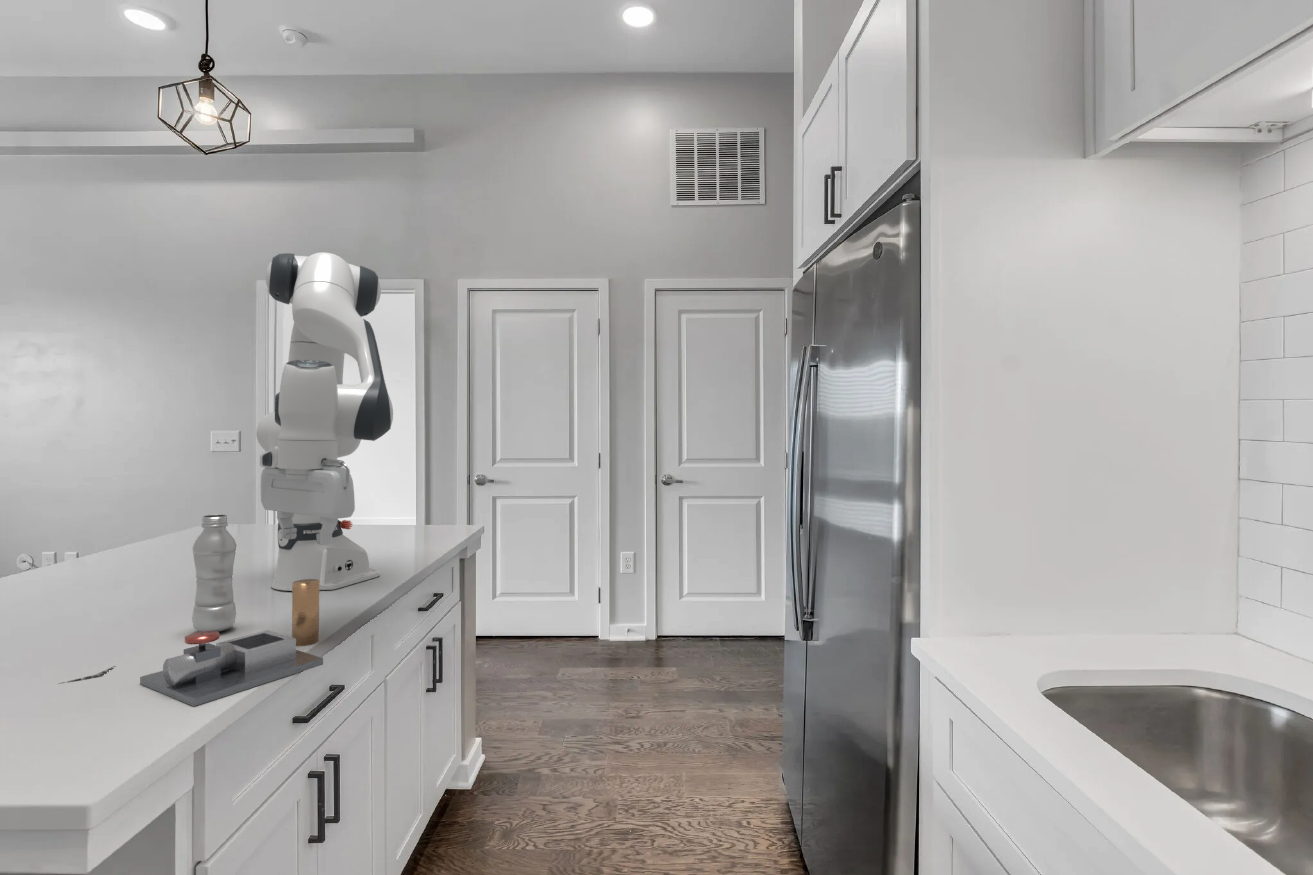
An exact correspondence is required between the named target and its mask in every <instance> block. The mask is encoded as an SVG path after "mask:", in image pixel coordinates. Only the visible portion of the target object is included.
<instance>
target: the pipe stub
mask: <svg viewBox="0 0 1313 875" xmlns="http://www.w3.org/2000/svg"><path fill="white" fill-rule="evenodd" d="M291 596H292V597H291V608H292V609H291V637H292V638H296V647H297V646H298V647H300V646H301V647H304V646H310V645H314V644H316V643H318V642H320V590H319V580H317V579H304V580H298V581H294V582H293V583H292V591H291Z"/></svg>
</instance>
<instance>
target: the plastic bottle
mask: <svg viewBox="0 0 1313 875" xmlns="http://www.w3.org/2000/svg"><path fill="white" fill-rule="evenodd" d="M201 521H202V522H201V528H203V529H202V532H200V534H199V535H198V536H197V538H196V539H195V541H194V543H193V545H192V554H193V562H194V567H195V579H196V590H195V600H194V606H193V610H192V616H191V622H192V626H193V628H194V629H195V631H197V632H203V631H217V632H219V633H220V632H222V631H225V630H228V629H231V628H232V627H233V626H234V624H235V622H236V618H237V609H236V602H235V600H234V589H233V588H234V587H233V575H234V563H235V560H236V559H235V557H236V550H237V544H236V540H235V538H234V537H233V536H232V534H231V533H230V532H229V531H228V530H227V527H228V526H229V524H228V515H227V514H222V513H221V514H219V513H218V514H207V515H203V516H202V520H201Z"/></svg>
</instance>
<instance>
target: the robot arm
mask: <svg viewBox="0 0 1313 875" xmlns="http://www.w3.org/2000/svg"><path fill="white" fill-rule="evenodd" d="M265 283H266V286H267V289H268V293H269V295H270V296H271V298H272V299H273V300H275V301H278V302H280V303H282V304H286V305H290V304H291V309H292V310H291V311H292V312H291V314H292V320H293V324H292V325H293V326H292V330H291V335H290V343H289V352H288V362H286V363H285V364H283V369H282V373H281V374H282V375H281V379H280V385H279V392H277V393H276V394H275V396H274V411H272V412H268V413H267V414H265V415H263V417H262V418H261V419H260V420H259V422H258V423H257V426H256V431H255V432H256V440H257V441H258V442H257V443H258V444H259V445H260V447H261V448H262V449H264V453H261V455H259V466H260V467H261V468H263V469H262V471H261V474H260V502H261V505H262V507H263V508H264V509H263V510H266V511H273V512H276V518H277V521H278V523H277V545H278V556H277V563H276V568H275V572H274V576H273V580H272V582H271V585H270V587H271V588H272V589H274V590H278V591H286V592H287V591H289V592H290V591H291V592H292V583H293V582H294V581H298V580H304V579H317V580H319V591H325V590H327V591H328V590H337V589H340V588H343V587H347V586H350V585H354V584H357V583H361V582H364V581H367V580H371V579H374V578H378V577H380V574H381V573H380V571H379V570H378V569H377V568H376V569H375V568H373V567H370V562H369V556H368V553H367V551H366V549H365V548H364V547H362V546H360V545H359V544H357V543H356V542H355V541H353V540H352V539H350V538H349V537H347V536H345V535H344V532H343V530H345V529H346V530H350V529H352V527H353V522H352V521H351V520H346V518H351V517H352V516H353V514H354V512H355V509H356V505H355V503H356V502H355V490H354V488H355V487H354V480H353V477H352V474H351V470H350V468H349V467H348V465H347V464H346V463H345V461H344V460H342V459H338V458H342V457H343V458H344V457H346V456H349V455H352V454H353V453H354V452H356V450H357V449H358V448H359V446H360V444H361V441H362V440H363V441H373V442H375V441H376V440H378V439H380V438H381V437H383V436H384V435H385V434H386V433H388V432H389V431H390V430H391V429H392V428H391V426H392V424H393V420H394V408H393V403H392V400H391V397H390V394H389V393H388V388H387V386H386V385H387V384H386V381H385V376H384V372H383V368H382V367H383V366H382V362H381V358H380V352H379V346H378V343H377V339H376V335H375V332H374V329H373V327H372V325H371V323H370V321H368V320H366V319H364V318H362V317H366V316H368V315H370V314H371V313H373V311H375V309H376V306H377V305H378V304H379V302H380V298H381V296H382V295H381V294H382V290H381V284H380V281H379V276H378V274H377V273H376V271H374V270H372V269H370V268H368V267H365V266H362V265H360V266H359V265H358V266H357V265H355V264H352V263H348V262H347V261H346V260H345V259H344V258H342V257H341V256H339V255H337V254H335V253H331V252H315V253H313V254H311V255H309V256H307V255H295V253H292V252H291V253H288V252H287V253H278V254H277V255H275V256H273V257H272V260H271V261H270V262H269V264H268V265H267V267H266V272H265ZM345 354H346V355H349V356H350V357H351V358H353V359H354V360H355V361H356V363H357V367H358V371H359V377H360V382H361V383H358V384H344V383H343V379H344V365H345V364H344V363H345ZM339 519H343V520H339Z"/></svg>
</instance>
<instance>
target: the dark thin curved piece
mask: <svg viewBox="0 0 1313 875" xmlns="http://www.w3.org/2000/svg"><path fill="white" fill-rule="evenodd" d="M114 667H115V668H116V667H117V666H115V665H113V666H111V667H109V668H107V669H104V670H103V671H101V672H98V673H95V674H92V675H88V676H83V677H79V678H75V679H72V680H67V681H63V682H59V683H57V685H59V684H61V685H62V684H68V683H74V682H79V681H85V680H90V679H91V680H92V679H96V678H102V677H104V676H105V675H106V674H108V673H110V672H109V670H111V671H112V670H114V669H115V668H114ZM107 672H108V673H107ZM104 674H105V675H104Z"/></svg>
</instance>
